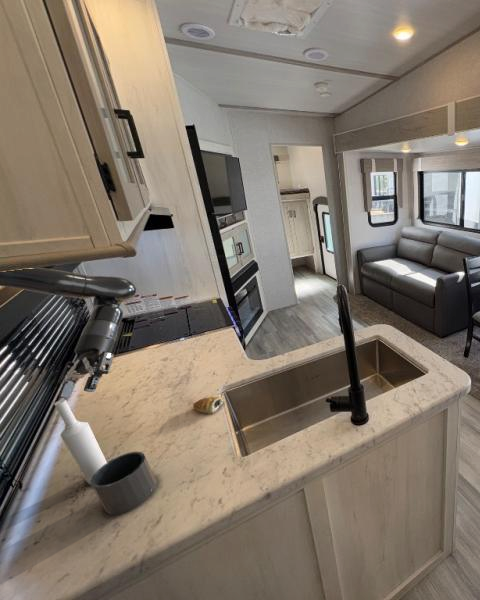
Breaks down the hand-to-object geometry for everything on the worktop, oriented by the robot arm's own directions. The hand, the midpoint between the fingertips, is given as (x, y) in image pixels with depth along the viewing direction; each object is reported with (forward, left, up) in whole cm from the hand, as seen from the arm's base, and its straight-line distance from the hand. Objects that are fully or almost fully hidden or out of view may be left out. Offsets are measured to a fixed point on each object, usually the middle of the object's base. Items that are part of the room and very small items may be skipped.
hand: (76, 394), depth 81 cm
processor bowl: (+8, -18, -23) cm, 30 cm away
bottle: (-1, -6, -23) cm, 24 cm away
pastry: (+25, +10, -23) cm, 36 cm away
